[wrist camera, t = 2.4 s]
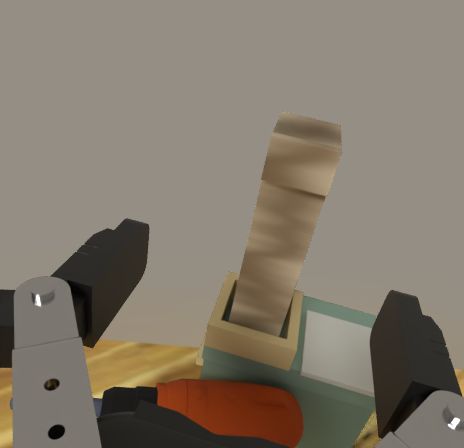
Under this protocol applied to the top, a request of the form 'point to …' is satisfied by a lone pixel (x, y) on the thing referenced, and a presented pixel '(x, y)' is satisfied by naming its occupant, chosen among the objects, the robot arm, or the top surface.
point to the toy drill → (217, 407)
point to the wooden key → (285, 219)
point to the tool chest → (300, 362)
